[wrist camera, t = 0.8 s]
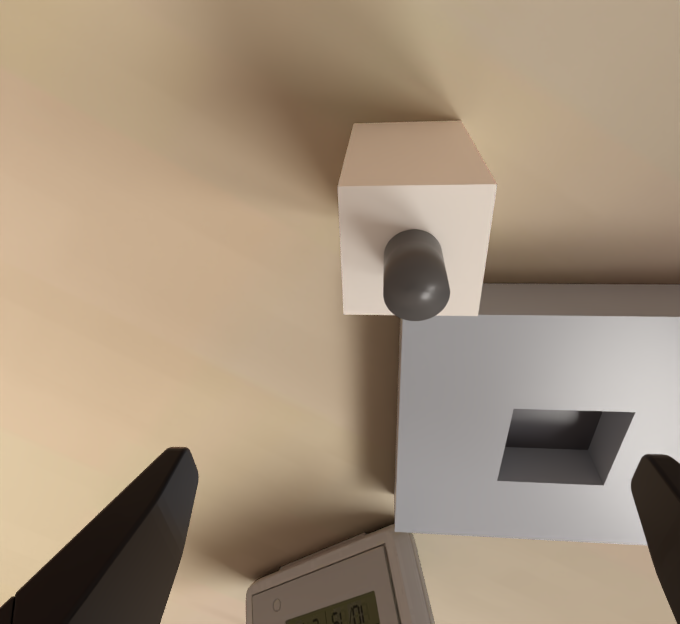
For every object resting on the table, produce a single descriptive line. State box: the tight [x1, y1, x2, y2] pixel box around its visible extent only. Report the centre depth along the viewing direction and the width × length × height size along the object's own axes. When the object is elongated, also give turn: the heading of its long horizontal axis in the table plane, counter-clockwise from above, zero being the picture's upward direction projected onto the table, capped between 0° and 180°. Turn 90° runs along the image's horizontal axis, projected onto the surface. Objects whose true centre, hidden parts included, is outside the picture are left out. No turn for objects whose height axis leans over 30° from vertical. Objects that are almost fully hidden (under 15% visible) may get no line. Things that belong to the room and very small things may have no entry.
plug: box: [338, 120, 497, 321], centre depth 15 cm, size 4×4×9 cm
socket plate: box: [394, 283, 680, 545], centre depth 24 cm, size 16×16×2 cm
